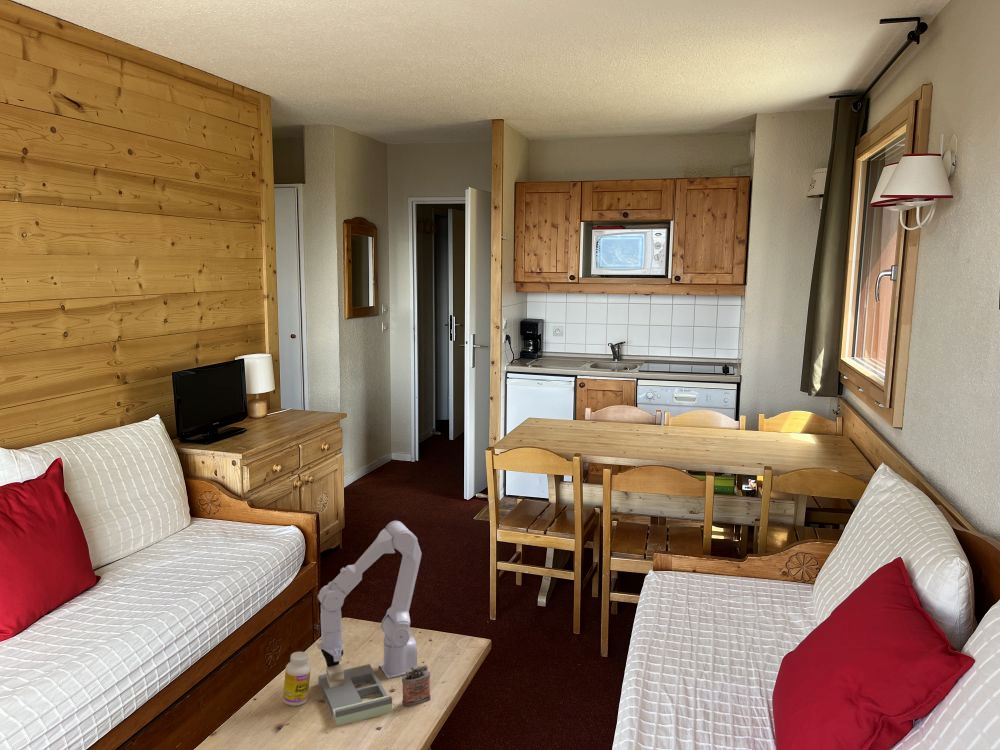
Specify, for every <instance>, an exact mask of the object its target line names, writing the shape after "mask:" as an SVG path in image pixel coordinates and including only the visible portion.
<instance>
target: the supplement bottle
mask: <svg viewBox="0 0 1000 750" xmlns="http://www.w3.org/2000/svg"><path fill="white" fill-rule="evenodd" d="M289 660H290V662H288V663H287V664H286V665H285V670H284V671H285V672H284V673H285V674H284V681H283V682H284V683H283V694H282V700H283V702H284V703H285V704H287V705H288V706H294V707H295V706H300V705H303V704H305V703H306V702H307V701H308V697H309V689H310V679H311V670H312V667H311V664H310V663H309V662H308V660H309V654H308V653H307V652H305V651H295V652H293V653H291V654H290V659H289Z"/></svg>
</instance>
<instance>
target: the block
mask: <svg viewBox="0 0 1000 750" xmlns="http://www.w3.org/2000/svg"><path fill="white" fill-rule="evenodd" d="M325 668H326V674H327V682H328V684H329V687H330V688H331V687H336V686H340V685H344V670H345V669H344V668H343V666H342V665H341V664H340V663H339V665H335V666H330V667H327V666H326V667H325Z"/></svg>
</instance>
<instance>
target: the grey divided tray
mask: <svg viewBox="0 0 1000 750" xmlns="http://www.w3.org/2000/svg"><path fill="white" fill-rule="evenodd" d="M343 670H344V685H340V686H336V687H331V688H330V687H329V684H328V682H327V673H325V674H320V675H317V680H318V683H319V684H318V686H319V689H320V690H321V693H322V695H323V696H322V697H324V700H325V703H326V705H327V707H328V710H329V712H330V714H331V717H332V720H333V721H334V723H335V726H336V727H340V726H343V725H347V724H350V723H355V722H359V721H363V720H367V719H370V718H374V717H378V716H382V715H386V714H390V713H393V697H392V696H391V695H390V696H388V694H387V692H386V690H385V688H384V686H383V685H382V683H381V681H380V680H379V678H378V676H377V675H376V673H375V671H374V668H373V667H372V666H371V663H367V664H364V665H358V666H355V667H350V668H346V669H343ZM369 682H371V683H372V684H370V685H365V686H362V687H358V688H357V687H355V686H357V685H361V684H365V683H369ZM373 695H374V696H375V695H378V696H379V697H377V698H373V699H369V700H364V701H363V700H362V698H363V699H364V698H366V697H370V696H373Z"/></svg>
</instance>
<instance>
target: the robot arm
mask: <svg viewBox="0 0 1000 750" xmlns="http://www.w3.org/2000/svg"><path fill="white" fill-rule="evenodd" d="M395 550H397V551H398V552H399V553H400V554H401V555H402V557H401V562H400V567H399V570H398V571H399V572H398V574H397V575H398V576H397V581H396V583H395V584H396V585H395V588H394V592H393V598H392V602H391V606H390V607H389V608H388V609H387V610H386V613H385V616H384V617H383V619H382V620H381V622H380V626H381V627H380V628H381V630H382V632H383V633H384V638H383V663H380V664H379V667H380V668H381V670H382V672H383V674H384V675H385V677H386V678H387V679H391V678H392V679H393V678H394V677H400V676H405V675H406V670H408V669H411V668H412V667H413V666H415V667H418V646H417V642H416V640H415V637H413V636H412V633H411V629H410V628H411V627H410V626H411V617H410V613H409V611H410V608H411V603H412V599H413V595H414V590H415V587H416V586H415V585H416V581H417V576H418V572H419V568H420V564H421V559H422V555H423V553H422V551H421V547H420V545H419V542H418V537H417V536H416V535H415V534H414V533H413V532H412V531H411V530H409V528H407V526H406V525H405V524H404V523H403V522H402V521H399V520H393V521H391V522H389V523H388V524H387V525H385V528H383V529H382V530H381V531H379V533H378V535H377V537H376V538H375V540H373V542H372V544H370V546H368V548H367V549H366V550H365V551H364V552H363V554H362V555H361V556H360V557H359V558H358V559H357V561H355V563H354V564H348V565H346V566H345V567H342V568H340V573H338V575H337V576H336V577H335V578H334V579H333V580H332V581H329V582H328V583H327V585H324V586H323V587H321V588H320V590H319V592H318V595H317V600H318V601H319V603H320V634H321V636H320V637H321V639H320V640H321V642H320V643H318V644H316V647H317V649H318V650H320V651H321V653H322V655H323V657H324V659H325V663H326V667H330V666H335V665H339V664H340V662H341V661H342V660H343V659H342V657H343V655H344V650H343V647H344V641H343V628H342V627H343V626H342V625H343V624H342V623H343V622H342V607H343V606H344V602H345V598H346V597H347V596H348V595H349V594H350V593H351V591H353V589H354V588H356V586H357V585H359V583H360V582H361V581H362V580H363V573H364V572H365V571H366V570H368V569H369V568H370V567H371V566H372V565H373V564H374V563H375V562H376V561H377V560H379V558H381V556H383V555H385V554H395V553H396V551H395Z"/></svg>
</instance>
